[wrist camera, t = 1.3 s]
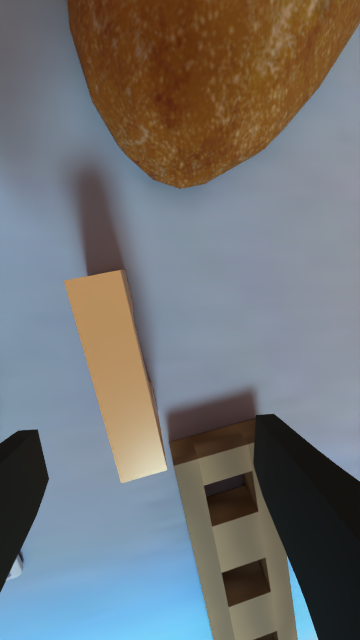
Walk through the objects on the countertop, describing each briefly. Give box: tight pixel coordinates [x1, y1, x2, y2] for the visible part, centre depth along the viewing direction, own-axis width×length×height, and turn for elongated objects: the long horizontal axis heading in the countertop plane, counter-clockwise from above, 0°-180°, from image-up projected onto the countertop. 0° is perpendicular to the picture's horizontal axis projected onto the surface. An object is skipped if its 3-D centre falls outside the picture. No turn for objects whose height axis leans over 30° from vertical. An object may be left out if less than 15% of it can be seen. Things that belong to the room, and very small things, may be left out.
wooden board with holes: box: [169, 418, 298, 640], centre depth 22 cm, size 7×24×2 cm, turn 11°
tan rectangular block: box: [64, 269, 167, 483], centre depth 16 cm, size 2×10×6 cm, turn 11°
